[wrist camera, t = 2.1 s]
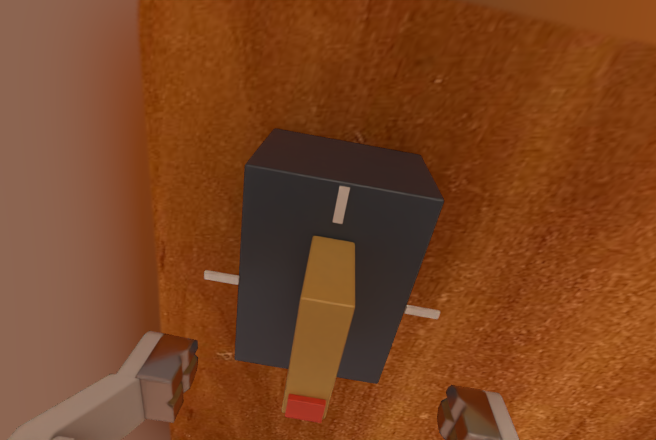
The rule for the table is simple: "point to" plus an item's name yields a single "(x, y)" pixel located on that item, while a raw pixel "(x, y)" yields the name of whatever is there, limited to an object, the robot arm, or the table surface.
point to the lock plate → (337, 223)
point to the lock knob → (320, 328)
